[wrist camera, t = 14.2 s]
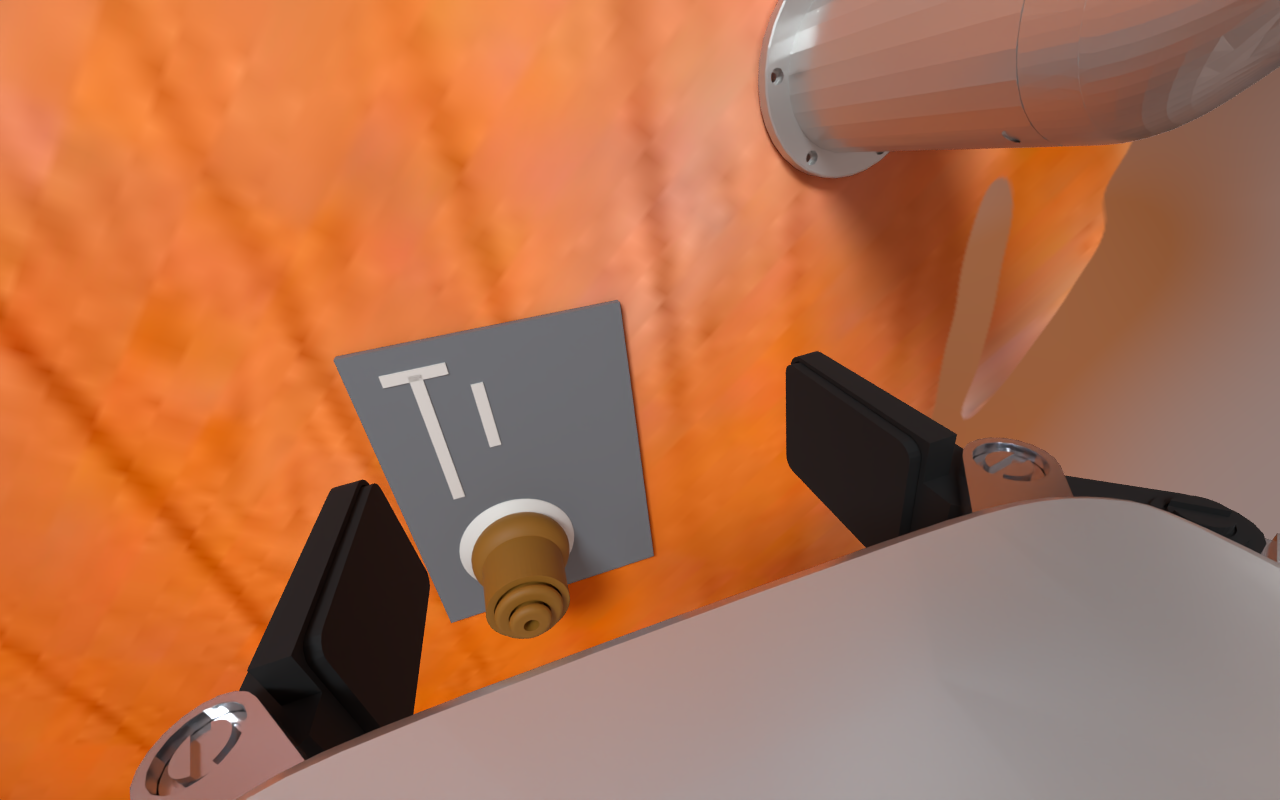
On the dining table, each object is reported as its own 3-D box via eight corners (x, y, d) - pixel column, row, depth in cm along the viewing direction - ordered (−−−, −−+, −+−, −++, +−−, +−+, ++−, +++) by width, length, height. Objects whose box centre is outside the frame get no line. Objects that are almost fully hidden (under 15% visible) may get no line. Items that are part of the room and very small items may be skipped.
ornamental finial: (534, 489, 37) (582, 545, 41) (450, 542, 37) (507, 593, 41) (549, 563, 30) (605, 622, 34) (446, 629, 30) (515, 681, 34)
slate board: (617, 299, 33) (620, 302, 33) (651, 551, 45) (654, 556, 44) (335, 356, 29) (333, 360, 29) (451, 616, 41) (451, 623, 40)
